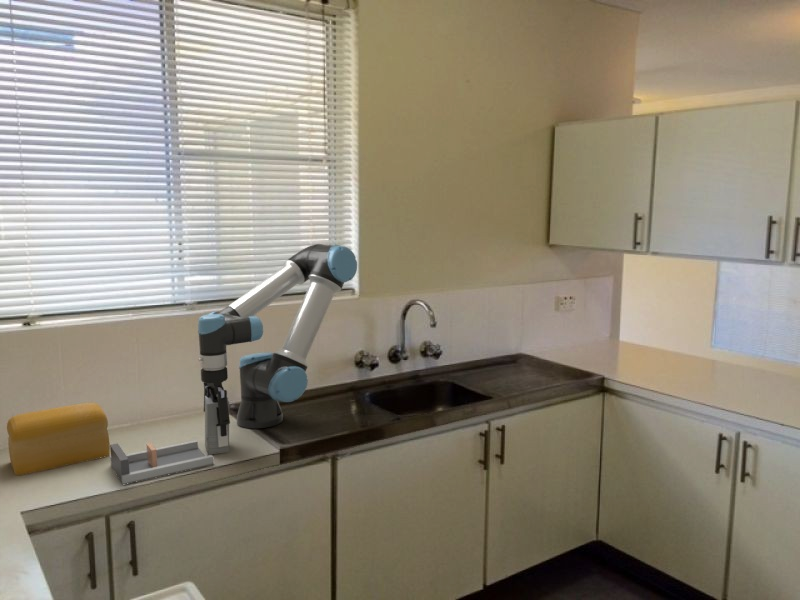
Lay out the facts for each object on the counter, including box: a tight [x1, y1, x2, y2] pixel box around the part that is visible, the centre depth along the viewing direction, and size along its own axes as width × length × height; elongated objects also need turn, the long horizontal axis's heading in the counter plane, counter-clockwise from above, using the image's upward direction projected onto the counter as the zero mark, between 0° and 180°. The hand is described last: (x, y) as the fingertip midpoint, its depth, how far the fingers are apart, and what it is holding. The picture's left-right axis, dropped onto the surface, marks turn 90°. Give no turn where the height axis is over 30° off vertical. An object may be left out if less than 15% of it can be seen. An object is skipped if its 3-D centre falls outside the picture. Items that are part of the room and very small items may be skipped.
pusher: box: [146, 442, 157, 467], centre depth 185 cm, size 1×6×5 cm, turn 33°
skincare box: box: [204, 396, 230, 456], centre depth 198 cm, size 8×7×16 cm
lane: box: [110, 439, 215, 485], centre depth 187 cm, size 24×16×6 cm, turn 124°
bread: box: [6, 402, 111, 476], centre depth 192 cm, size 24×13×15 cm, turn 126°
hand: (217, 441), depth 199 cm, fingers closed on skincare box, 9 cm apart
